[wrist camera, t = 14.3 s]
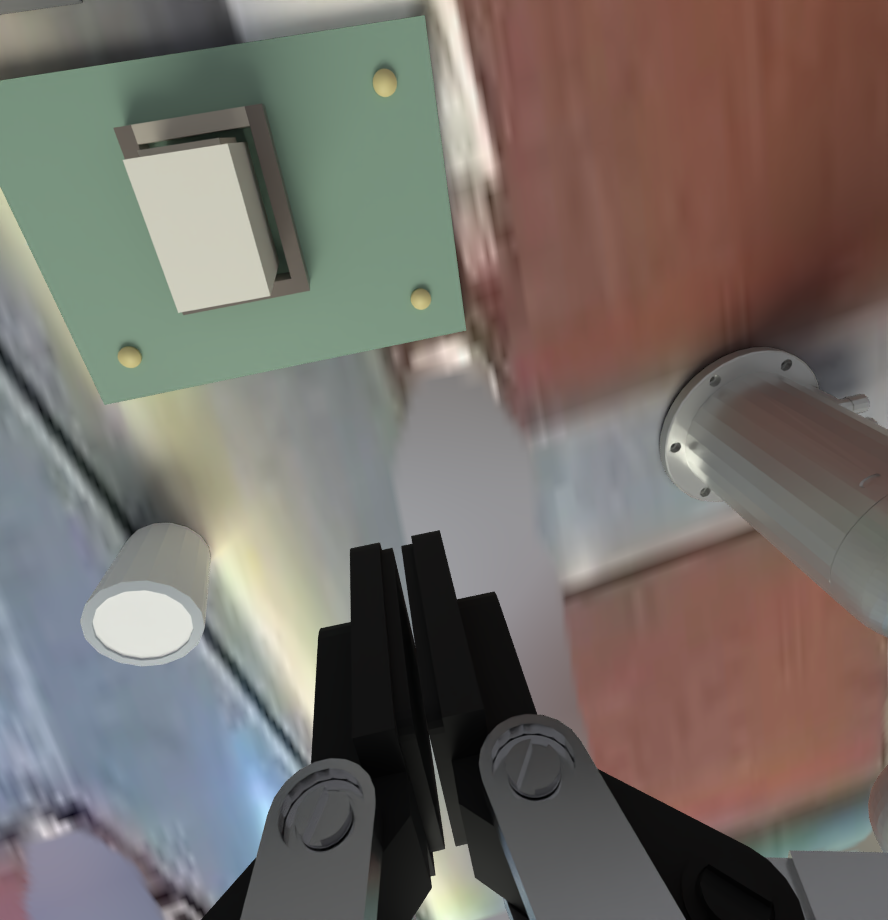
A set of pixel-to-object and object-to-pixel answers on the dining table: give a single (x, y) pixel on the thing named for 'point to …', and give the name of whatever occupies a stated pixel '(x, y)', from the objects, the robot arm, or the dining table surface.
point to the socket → (258, 121)
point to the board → (308, 187)
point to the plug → (206, 221)
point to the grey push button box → (31, 5)
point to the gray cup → (151, 597)
